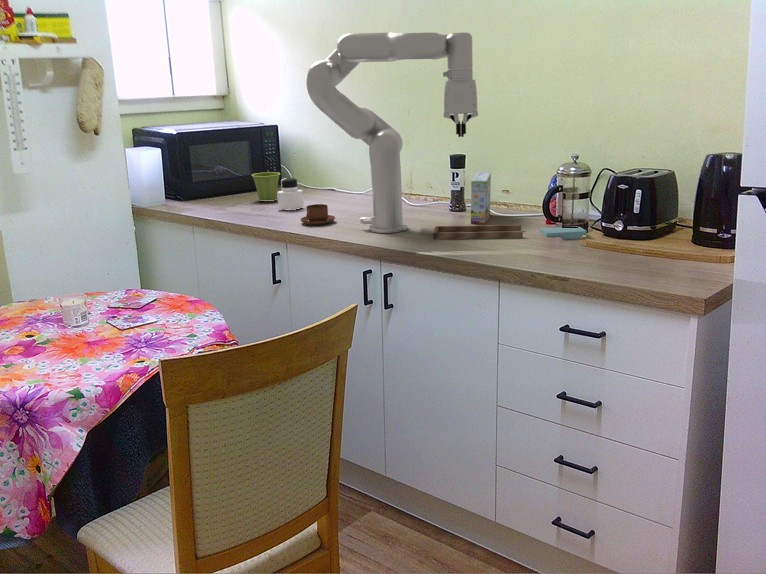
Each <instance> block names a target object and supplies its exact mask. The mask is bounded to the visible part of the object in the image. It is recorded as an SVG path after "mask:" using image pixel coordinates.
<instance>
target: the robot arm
mask: <svg viewBox="0 0 766 574" xmlns="http://www.w3.org/2000/svg"><path fill="white" fill-rule="evenodd" d="M446 58H447V71H444V72H443V73H442V77H443V78H447V80H445V81H444V88H443V91H444V92H443V111H444V112H443V118H445V119H451V120H452V122H454V123H455V132H456V135H458V138H461V137H462V138H464V135H467V123H468V121H470V120H471V119H473V118H475V117H479V112H478V91H477V90H478V88H477V83H476V79H474V78H473V74H474V72H473V36H472V34H471V33H470V32H453V33H449V34H442V33H441V34H440V33H438V32H431V31H430V32H405V33H404V32H403V33H401V32H364V33H363V32H357V33H356V32H355V33H354V32H350V33H345V34H343V35H341V36H340V37H339V39H338V40H337V43H336V48H335V50H334V51H332V53H330V54H329V55H328V57H326V59H325V60H318V61H315V62H314V63H313V64H312V65H311V66H310V67H309V69H308V72H307V76H306V88H307V93H308V96H309V97H310V98H309V99H310V100H311V101H312V103H313V104H314V105H315V107H316V108H318V109H319V110H320V111H321V112H322V113H323V114H324V115H325V116H327V117H328V119H330V120H331V121H332V122H333V123H334V124H336V125H337V126H338V127H339V128H340V129H342V130H343V131H344V132H345V133H346V134H347V135H348V136H349V137H351V138H352V139H354V140H355V139H356V140H361V142H362V141H363V142H364V143H365V144H366V145H367V146H368V153H369V154H368V155H369V162H370V163H369V164H370V176H371V178H370V179H371V192H372V193H371V194H372V195H371V196H372V210H373V211H372V212H373V213H372V214H373V215H372V216H370V217H360V220H359V221H360V224H363V225H369V231H370V232H371V233H377V234H390V233H391V234H392V233H399V232H404V231H406V230H408V229H409V225H408V224H407V223H404V221H403V220H404V218H403V215H404V214H403V192H402V191H403V189H402V170H401V151H402V149H403V145H404V143H403V138H402V136H401V135H400V133H399V132H398V131H397V130H396V129H395V128H393V127H392V126H391V125H389V124H388V123H387V122H386V121H385V120H384V119H383V118H382V117H380V116H379V115H377V113H375V112H374V111H372V110H371V109H369V108H367V107H360V106H358V105H357V104H356V103H354V102H353V101H352V100H351V99H349V98H348V96H346V95H345V94H343V93H342V92H341V91H340V90H339V89H337V87H336V86H338V85H340V83H342V81H344V79H345V78H346V77H348V75H349V74H351V72H352V71H353V70H354V69H356V68H357V66H359V64H360V63H377V62H378V63H389V62H395V61H397V62H398V61H403V60H440V59H446ZM460 114H461V115H462V114H463V116H462V120H461V121H460V117H459V115H460Z"/></svg>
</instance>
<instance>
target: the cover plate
mask: <svg viewBox="0 0 766 574" xmlns="http://www.w3.org/2000/svg"><path fill="white" fill-rule="evenodd" d="M577 227H578V226H577ZM539 232H540V234H542V235H543V236H545V237H546V238H549V237H560V238H561V240H573V239H582V238H581V237H582V236H583V235H586V234H587V232H588V231H587V230H586V229H584V228H582V227H581V226H579V227H578V228H562V227H541V228H539Z"/></svg>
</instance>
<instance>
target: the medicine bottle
mask: <svg viewBox="0 0 766 574" xmlns="http://www.w3.org/2000/svg"><path fill="white" fill-rule="evenodd" d="M280 184H281V191H280V190H279V191H277V205H278V206H277V208H279V209H291V210H294V209H297V208H302V207H304V206H305V205H304V194H303V193H304V191H303V189H298V179H297V178H295V177H287V178H286V177H285V178H283V179H281V180H280ZM304 208H305V207H304ZM279 209H278V210H279ZM302 209H303V208H302Z"/></svg>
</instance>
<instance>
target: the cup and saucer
mask: <svg viewBox="0 0 766 574" xmlns="http://www.w3.org/2000/svg"><path fill="white" fill-rule="evenodd" d="M305 209H306V216H303V217H301V218H300V222H302V223H303V224H305V225H309V224H311V225H310V226H319V225H318V224H322V225H326V223H327V224H330V223H332V222H334V220H335V219H336V216H334V215H329V209H328V204H321V203H317V204H309V205H307V206H305ZM308 220H309V221H308Z"/></svg>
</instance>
